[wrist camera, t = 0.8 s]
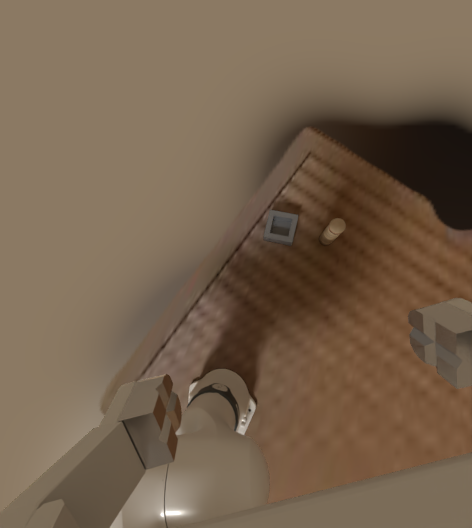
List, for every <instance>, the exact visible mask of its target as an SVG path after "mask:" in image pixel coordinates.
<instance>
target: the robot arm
mask: <svg viewBox="0 0 472 528" xmlns="http://www.w3.org/2000/svg"><path fill="white" fill-rule="evenodd" d="M408 322H409V324H410V325H411V326H413V327H414V328H413V329H412V331H411V333H410V334H409V335H410V344H411V346H412V348H413V350H414V352H415V353H416V354H417V356H418V357H419V358H420V359H421V360H422V361H424V362H425V363H426V364H430V365H433V366H436V368H437V373H438V374H439V375H441V376H442V377H443V378H444V379H446V380H447V381H448V382H449V383H450V384H452V385H453V386H454V387H455V388H457V389H459V388H464V387H468V386H472V303H471V302H469V301H467V300H464V299H462V298H454V299H450V300H447V301H444V302H440V303H438V304H434V305H431V306H427V307H423V308H420V309H416V310H412V311H410V312H409V315H408ZM172 386H173V382H172V380H171V378H170V376H169V375H168V374H164V375H160V376H156V377H151V378H147V379H143V380H139V381H135V382H131V383H127V384H123V385H122V386H120V388H119V389H118V391H117V393H116V395H115V397H114V399H113V401H112V403H111V405H110V406H109V408H108V410H107V412H106V414H105V416H104V418H103V420H102V422H101V424H100V425H99V427H97V428H94V429H92V430H91V431H90V432H89V433H88V434H87V435H86V436H85V437H84V438H82V439H81V440H80V441H79V442H78V443H77V444H76V445H75V446H74V447H72V448H71V449H70V450H69V451H68V452H67V453H66V454H65V455H64V456H62V458H60V459H59V460H58V461H57V462H56V463H55V464H54V465H53V466H51V467H50V468H49V469H48V470H47V471H46V472H45V473H44V474H42V476H40V477H39V478H38V479H37V480H36V481H35V482H34V483H33V484H31V485H30V486H29V487H28V488H27V489H26V490H25V491H24V492H23V493H21V494H20V495H19V496H18V497H17V498H16V499H15V500H14V501H13V502H11V503H10V504H9V505H8V506H7V507H6V508H5V509H4V510H3V511H1V512H0V528H472V452H471V453H467V454H463V455H459V456H455V457H451V458H447V459H443V460H439V461H435V462H431V463H427V464H423V465H420V466H416V467H412V468H408V469H404V470H400V471H396V472H392V473H388V474H384V475H380V476H376V477H373V478H369V479H365V480H361V481H357V482H353V483H349V484H345V485H341V486H337V487H333V488H329V489H326V490H322V491H318V492H314V493H310V494H306V495H302V496H298V497H294V498H290V499H286V500H282V501H278V502H274V503H271V504H267V501H268V497H269V490H270V476H269V469H268V465H267V461H266V459H265V456H264V454H263V452H262V450H261V448H260V447H259V445H258V444H257V443H256V441H255V440H254V439H253V438H251V437H248V436H245V435H244V434H245V432H246V429H247V427H248V425H249V423H250V420H251V418H252V416H253V414H254V411H255V409H256V403H255V401H254V400H253V398H252V397H251V396H250V395H249V392H248V389H247V386H246V384H245V382H244V381H243V379H242V378H241V377H240V376H239V375H238V374H236V373H235V372H233V371H231V370H228V369H216V370H213V371H211V372H209V373H207V374H206V375H205V376H204V377H203V378H202V379H200V380H198V381H195V382H193V383H192V384H191V385H190V388H189V401H188V406H187V409H186V410H185V411H184V413H183V414H182V415H181V405H180V401H179V398H178V395H177V394H175V393H174V392H172ZM248 409H251V411H249V410H248Z"/></svg>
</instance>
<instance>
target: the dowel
mask: <svg viewBox="0 0 472 528" xmlns="http://www.w3.org/2000/svg"><path fill="white" fill-rule="evenodd" d="M345 228H346V224H345V222H344V220H342V219H340V218H335V219H333V220H332V221H331V222H330V223H329V225H328V226H327V227H326V229H325V230H324V231H323V233H322V234H321V235H320V237H319V241H320V243H321V244H323V245H329V244H331V243H332V242H333V241H334V240H335V239H336V238H337V237H338V236H339V235H340V234H341V233H342V232H343V231H344V230H345Z"/></svg>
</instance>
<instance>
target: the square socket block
mask: <svg viewBox="0 0 472 528" xmlns="http://www.w3.org/2000/svg"><path fill="white" fill-rule="evenodd" d="M298 216H299V215H296V214H290V213H285V212H280V211H275V210H270V212H269V216H268V221H267V225H266V229H265V233H264V240H266V241H270V242H275V243H280V244H284V245H289V246H291V245H292V242H293V238H294V233H295V229H296V224H297V220H298Z"/></svg>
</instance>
